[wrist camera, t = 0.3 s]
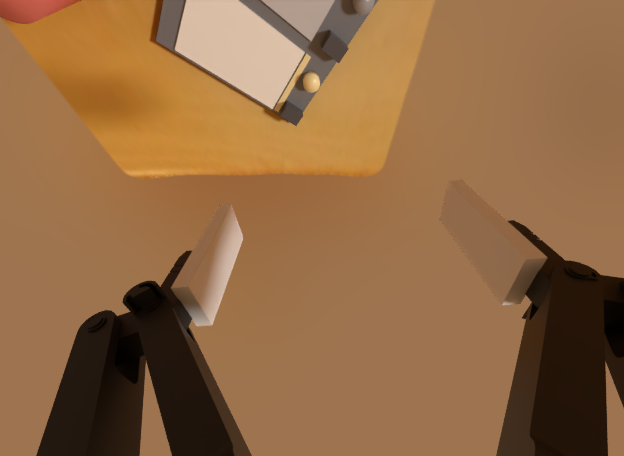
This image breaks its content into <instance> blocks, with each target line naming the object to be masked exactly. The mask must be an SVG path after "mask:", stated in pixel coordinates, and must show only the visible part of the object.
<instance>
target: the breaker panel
mask: <svg viewBox="0 0 624 456" xmlns="http://www.w3.org/2000/svg"><path fill="white" fill-rule="evenodd" d="M377 1H378V0H163V5H162V11H161V16H160V22H159V27H158V33H157V38H156V42H158V43H160V44H161V45H163V46H165V47H166V48H168V49H170V50H171V51H173V52H175V53H176V54H178V55H180V56H181V57H183V58H185V59H186V60H188V61H190V62H191V63H193V64H195V65H196V66H198V67H200V68H201V69H203V70H205V71H206V72H208V73H210V74H211V75H213V76H215V77H216V78H218V79H220V80H221V81H223V82H225V83H226V84H228V85H230V86H231V87H233V88H235V89H236V90H238V91H240V92H241V93H243V94H245V95H246V96H248V97H250V98H251V99H253V100H255V101H256V102H258V103H260V104H261V105H263V106H265V107H266V108H268V109H270V110H271V111H273V112H275V113H276V114H278V115H280V116H281V117H282V118H284V119H285V120H287V121H289V122H290V123H292V124H294V125H295V126H296V125H297V124H298V123H299V121H300V120H301V118H302V117H303V111H304V110H305V108H306V107H307V105H308V104H309V102H310V101H311V99H312V98H313V96H314V95H315V93H316V92H317V90H318V89H319V87H320V86H321V84H322V83H323V81H324V80H325V79H326V77H327V76H328V74H329V73H330V71H331V70H332V68H333V67H334V65H335V64H336V62H338V63H339V62H340V61H341V59H342V58H343V56H344V55H345V53H346V52H347V50H348V47H347V46H348V44H349V43H350V41H351V40H352V38H353V37H354V35H355V34H356V32H357V31H358V29H359V28H360V26H361V25H362V23H363V22H364V20H365V19H366V17H367V16H368V14H369V13H370V11H371V10H372V8H373V7H374V5H375V4H376V3H377Z"/></svg>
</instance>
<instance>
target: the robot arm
mask: <svg viewBox="0 0 624 456" xmlns="http://www.w3.org/2000/svg"><path fill="white" fill-rule="evenodd" d="M440 221H441V222H442V224H443V225H444V226H445V227H446V229H447V230H448V232H449V233H450V234H451V236H452V237H453V239H454V240H455V241H456V243H457V244H458V245H459V247H460V248H461V249H462V251H463V253H464V254H465V255H466V257H467V258H468V259H469V261H470V262H471V264H472V265H473V266H474V268H475V269H476V270H477V272H478V273H479V275H480V276H481V277H482V279H483V280H484V282H485V283H486V284H487V286H488V287H489V288H490V290H491V291H492V293H493V294H494V295H495V297H496V298H497V299H498V301H499V302H500V304H501V305H512V304H520V303H521V302H522V300H523V298H524V297H525V295H526V296H527V297H528V298H529V299H530V300H531V301H532V303H531V304H530V306H529V308H528V309H527V311H526V312H525V314H524V315H523V317H522V318H524V319H526V322H525V326H524V331H523V336H522V340H521V345H520V350H519V354H518V359H517V363H516V368H515V372H514V377H513V382H512V386H511V391H510V396H509V400H508V404H507V409H506V414H505V418H504V423H503V427H502V432H501V437H500V441H499V446H498V450H497V455H496V456H608V444H607V410H606V409H607V407H606V371H605V361H606V363H607V366H608V368H609V371H610V373H611V376H612V379H613V381H614V384H615V386H616V389H617V392H618V394H619V397H620V399H621V402H622V404H623V407H624V278H618V277H610V276H603V275H600V274H599V273H598V272H597V271H596V270H594V269H592V268H590V267H589V266H587V265H584V264H581V263H578V262H574V261H565V260H564V259H563V258H562V257H561V256H559V255H558V254H557V253H556V252H555V251H553V250H552V249H551V248H550V247H549V246H548V245H546V244H545V243H544V242H543V241H542V240H541V241H540V239H539V238H538V237H537V236H536V235H533V232H531V231H530V230H529V229H528V228H527V227H525V226H524V225H522V224H520V223H518V222H516V221H514V220H513V221H507V220H506V219H505V218H503V217H502V216H501V215H500V214H499V213H498V212H497V211H496V210H495V209H494V208H492V207H491V206H490V205H489V204H488V203H487V202H486V201H485V200H484V199H483V198H481V197H480V196H479V195H478V194H477V193H476V192H475V191H474V190H473V189H472V188H470V187H469V186H468V185H467V184H466V183H465V182H464V181H463V180H453V181H448V184H447V189H446V193H445V197H444V202H443V206H442V211H441V216H440ZM242 240H243V236H242V233H241V230H240V227H239V224H238V222H237V219H236V216H235V213H234V211H233V208H232V205H231V204H223V205H219V206H218V208H217V209H216V211H215V213H214V215H213V216H212V218H211V220H210V222H209V223H208V225H207V227H206V228H205V230H204V232H203V234H202V235H201V237H200V239H199V240H198V243H197V244H196V246H195V247H194V249H193V251H186V252H185V253H184V254H183V255H181V256H180V257H179V258H178V260H177V261H176V263H175V264H174V267H173V268H172V269H171V271H170V273H169V274H168V276H167V277H166V279H165V281H164V282H163V284H162V285H161V287H159V285H158V284H157V283H156V282H155V281H145V282H142V283H140V284H138V285H136V286H134V287H133V288H131V289H130V290H129V291H128V292H127V293H126V295H125V296H124V298H123V303H124V305H125V306H126V307H127V308H128V309H129V310H130V311H131V312H128V313H125V314H123V315H119V316H117V315H116V314H115V313H114V312H112V311H108V310H105V311H102V312H99V313H97V314H95V315H93V316H91V317H90V318H89V319H87V320H86V321H85V322H84V323H83V324H82V325H81V327H80V328H79V330H78V332H77V335H76V338H75V341H74V344H73V347H72V350H71V353H70V356H69V359H68V362H67V365H66V368H65V371H64V374H63V378H62V380H61V383H60V386H59V389H58V392H57V395H56V398H55V401H54V404H53V407H52V410H51V413H50V416H49V419H48V422H47V426H46V429H45V431H44V434H43V437H42V440H41V443H40V446H39V449H38V452H37V455H36V456H139V455H140V440H141V425H142V409H143V395H144V379H145V364H146V361H147V365H148V369H149V372H150V376H151V380H152V383H153V387H154V391H155V394H156V398H157V402H158V405H159V409H160V413H161V416H162V420H163V424H164V428H165V431H166V435H167V439H168V442H169V446H170V450H171V453H172V456H252V455H251V453H250V451H249V449H248V447H247V445H246V443H245V441H244V439H243V437H242V435H241V433H240V430H239V428H238V426H237V424H236V422H235V420H234V418H233V416H232V414H231V412H230V410H229V408H228V406H227V404H226V402H225V400H224V398H223V395H222V393H221V391H220V389H219V387H218V385H217V383H216V381H215V379H214V377H213V375H212V373H211V371H210V369H209V366H208V364H207V363H206V360H205V358H204V356H203V354H202V352H201V350H200V348H199V346H198V344H197V342H196V340H195V338H194V335H193V333H192V331H191V330H190V328H189V324H190V322H191V320H193V322H194V323H195V325H196V326H208V325H212V324H213V321H214V319H215V316H216V313H217V310H218V308H219V305H220V302H221V299H222V296H223V294H224V291H225V288H226V285H227V282H228V280H229V277H230V274H231V271H232V268H233V266H234V263H235V260H236V257H237V254H238V252H239V249H240V246H241V243H242Z"/></svg>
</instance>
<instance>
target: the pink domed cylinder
mask: <svg viewBox="0 0 624 456" xmlns="http://www.w3.org/2000/svg"><path fill="white" fill-rule="evenodd" d="M78 1H81V0H0V17H2V18H5V19H7V20H10V21H12V22H16V23H22V24H28V23H33V22H35V21H37V20H39V19H42V18H44V17H46V16H48V15H50V14H52V13H55V12H57V11H59V10H61V9H63V8H65V7H68V6H70V5H72V4H74V3H76V2H78Z"/></svg>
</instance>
